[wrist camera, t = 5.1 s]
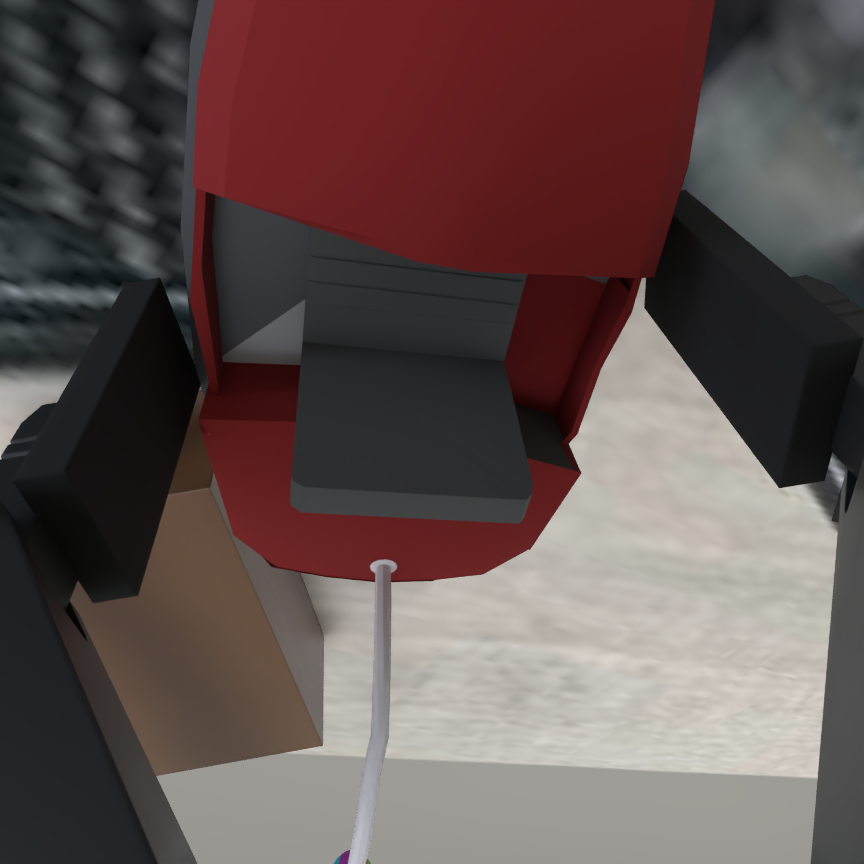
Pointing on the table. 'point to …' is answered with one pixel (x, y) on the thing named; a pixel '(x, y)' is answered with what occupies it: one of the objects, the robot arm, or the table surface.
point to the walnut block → (210, 637)
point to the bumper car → (419, 268)
